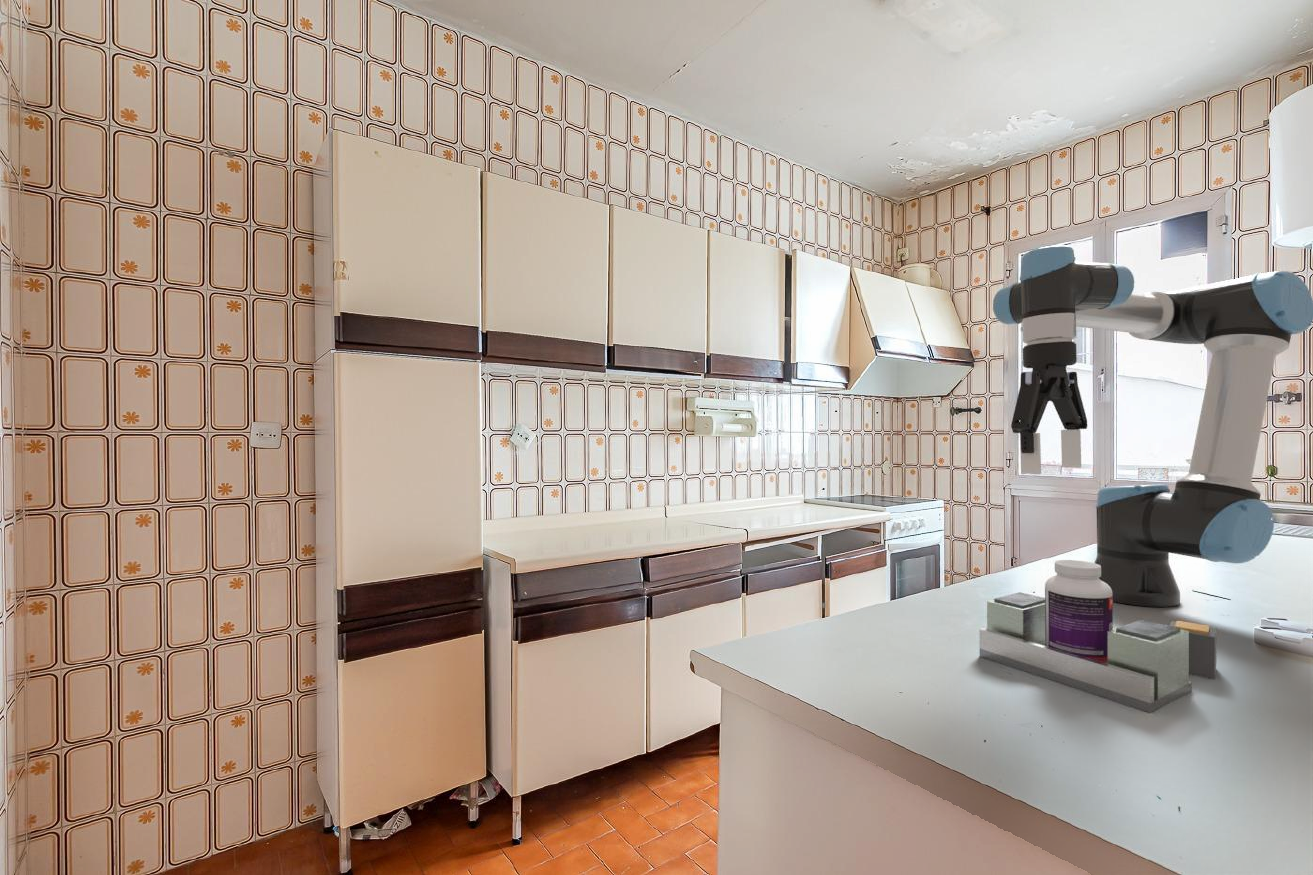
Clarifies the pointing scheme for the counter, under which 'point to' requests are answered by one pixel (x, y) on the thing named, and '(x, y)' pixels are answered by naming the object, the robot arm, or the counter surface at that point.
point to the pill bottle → (1078, 610)
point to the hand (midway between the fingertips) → (1052, 470)
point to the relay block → (1200, 648)
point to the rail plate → (1138, 659)
